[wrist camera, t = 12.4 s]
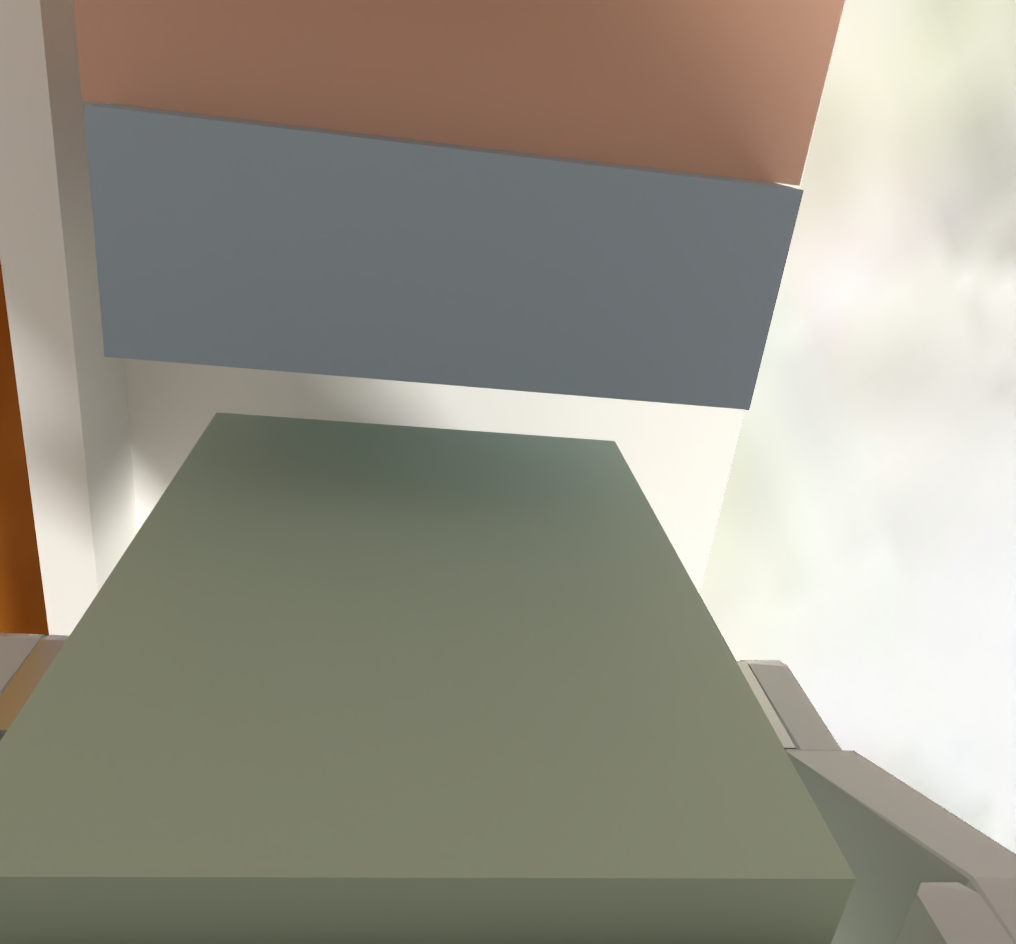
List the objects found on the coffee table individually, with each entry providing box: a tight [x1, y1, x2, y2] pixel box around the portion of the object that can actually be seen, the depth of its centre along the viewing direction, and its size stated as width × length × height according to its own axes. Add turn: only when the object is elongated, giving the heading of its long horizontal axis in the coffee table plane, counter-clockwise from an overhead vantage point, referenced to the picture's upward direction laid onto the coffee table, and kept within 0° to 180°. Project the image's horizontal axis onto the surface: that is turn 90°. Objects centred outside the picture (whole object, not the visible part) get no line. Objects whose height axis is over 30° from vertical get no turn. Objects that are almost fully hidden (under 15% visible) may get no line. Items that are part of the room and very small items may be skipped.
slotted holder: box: [0, 0, 846, 636], centre depth 14 cm, size 14×22×10 cm, turn 174°
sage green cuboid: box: [0, 412, 856, 944], centre depth 10 cm, size 6×4×8 cm, turn 84°
